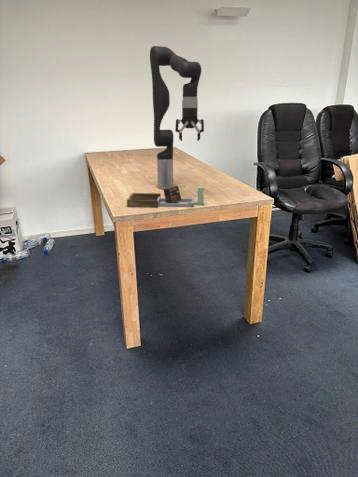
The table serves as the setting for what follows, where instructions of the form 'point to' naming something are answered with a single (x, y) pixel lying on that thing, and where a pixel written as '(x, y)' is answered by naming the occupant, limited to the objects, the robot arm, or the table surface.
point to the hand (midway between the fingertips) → (189, 140)
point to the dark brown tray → (143, 200)
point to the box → (172, 194)
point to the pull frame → (184, 200)
